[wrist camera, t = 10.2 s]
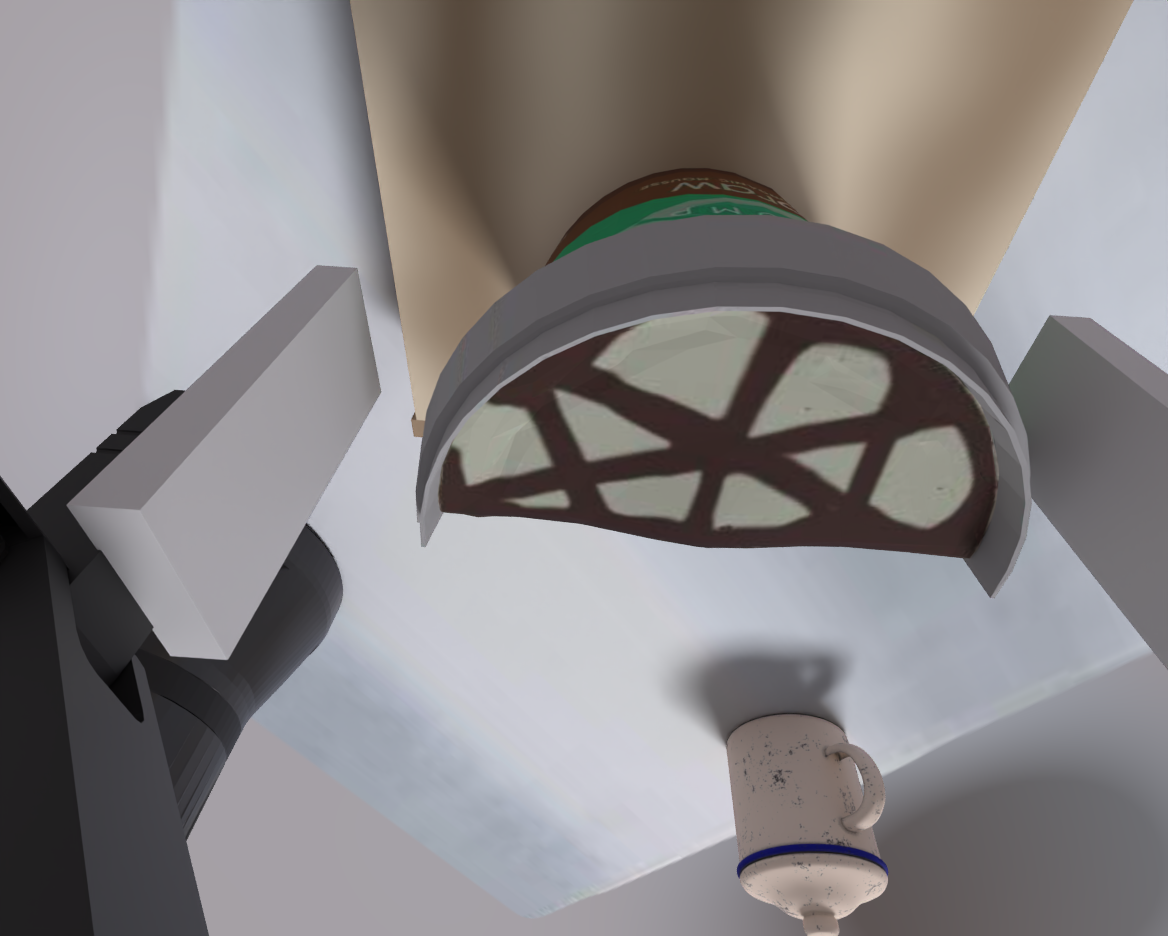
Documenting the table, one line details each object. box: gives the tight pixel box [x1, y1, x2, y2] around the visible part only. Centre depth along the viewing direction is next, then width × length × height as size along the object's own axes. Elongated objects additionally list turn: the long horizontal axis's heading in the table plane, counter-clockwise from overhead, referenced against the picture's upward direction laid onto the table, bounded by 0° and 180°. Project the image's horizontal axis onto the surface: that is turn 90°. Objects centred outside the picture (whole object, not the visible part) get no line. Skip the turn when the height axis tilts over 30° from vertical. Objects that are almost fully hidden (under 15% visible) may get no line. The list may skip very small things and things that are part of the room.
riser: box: [350, 0, 1133, 437], centre depth 19 cm, size 18×17×4 cm
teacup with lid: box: [727, 714, 888, 936], centre depth 39 cm, size 12×9×12 cm
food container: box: [416, 168, 1032, 598], centre depth 14 cm, size 12×6×10 cm, turn 87°
